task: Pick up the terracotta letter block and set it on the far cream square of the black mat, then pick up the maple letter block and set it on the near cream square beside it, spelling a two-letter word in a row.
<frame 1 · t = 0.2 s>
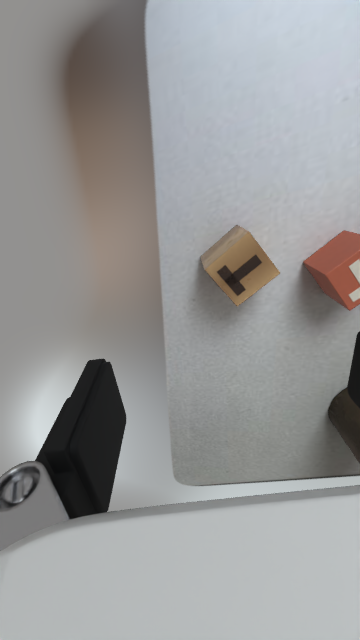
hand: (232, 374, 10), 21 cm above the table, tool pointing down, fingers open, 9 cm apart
maple block: (232, 258, 29), on the table
terracotta block: (333, 263, 30), on the table
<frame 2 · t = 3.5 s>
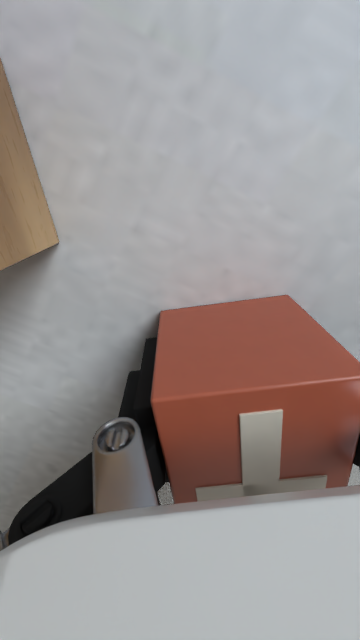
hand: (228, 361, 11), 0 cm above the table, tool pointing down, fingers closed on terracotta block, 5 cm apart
terracotta block: (226, 355, 12), on the table, touching gripper
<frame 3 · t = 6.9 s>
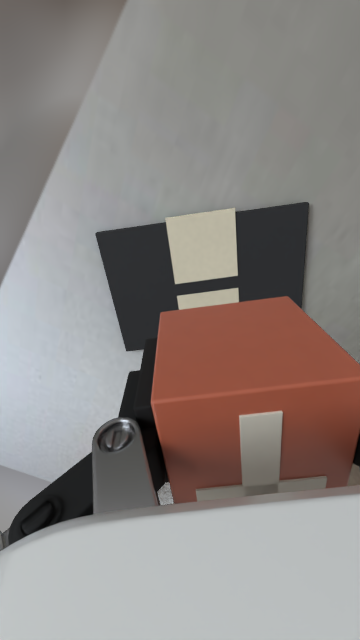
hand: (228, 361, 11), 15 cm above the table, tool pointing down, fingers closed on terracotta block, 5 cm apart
word mat: (206, 283, 26), on the table
terracotta block: (226, 356, 12), point 15 cm above the table, touching gripper
when the fingers open (1 cm above the table, at t = 10.6 s): terracotta block stays where it is, resting on word mat.
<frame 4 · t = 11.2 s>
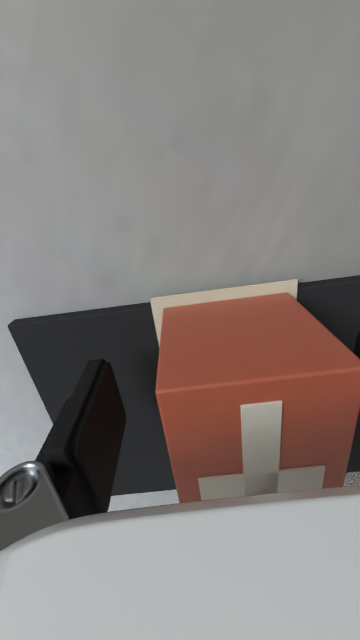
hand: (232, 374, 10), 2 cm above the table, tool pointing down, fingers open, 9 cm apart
word mat: (228, 400, 14), on the table
terracotta block: (228, 351, 12), point 1 cm above the table, touching word mat
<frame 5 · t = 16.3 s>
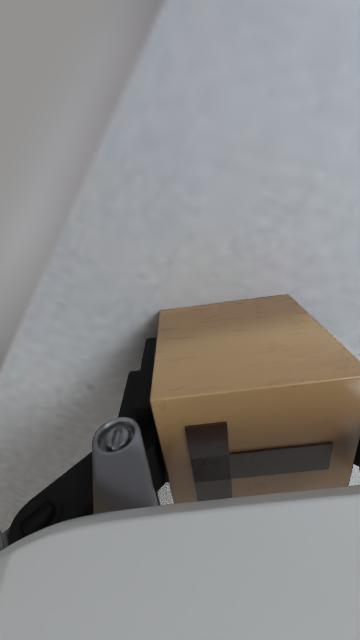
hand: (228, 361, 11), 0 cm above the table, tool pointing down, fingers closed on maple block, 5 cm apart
maple block: (226, 355, 12), on the table, touching gripper
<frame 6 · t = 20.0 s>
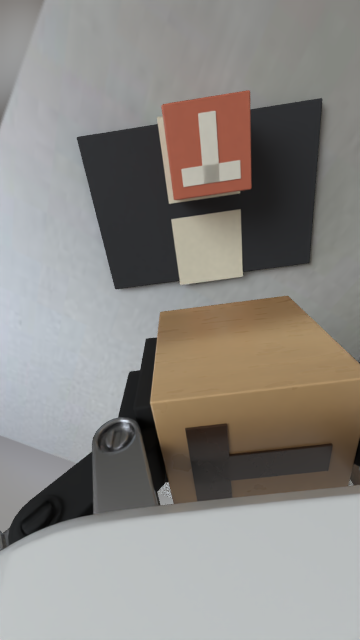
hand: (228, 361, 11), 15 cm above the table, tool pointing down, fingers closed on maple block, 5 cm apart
word mat: (204, 206, 23), on the table
maple block: (226, 356, 12), point 15 cm above the table, touching gripper
terracotta block: (201, 157, 21), point 1 cm above the table, touching word mat
when the fingers open (1 cm above the table, at t = 23.7 s): maple block stays where it is, resting on word mat.
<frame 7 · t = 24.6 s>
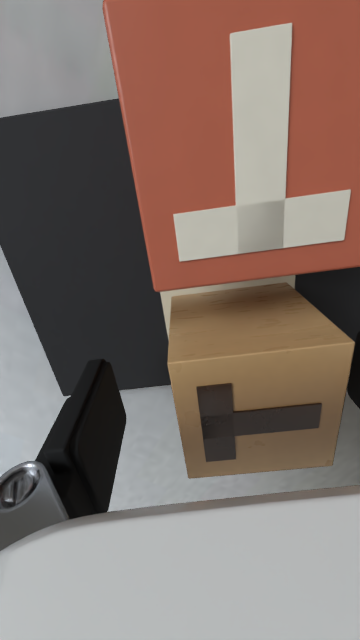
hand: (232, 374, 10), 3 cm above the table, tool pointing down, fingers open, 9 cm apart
word mat: (223, 261, 12), on the table
maple block: (231, 338, 13), point 1 cm above the table, touching word mat
terracotta block: (221, 170, 10), point 1 cm above the table, touching word mat
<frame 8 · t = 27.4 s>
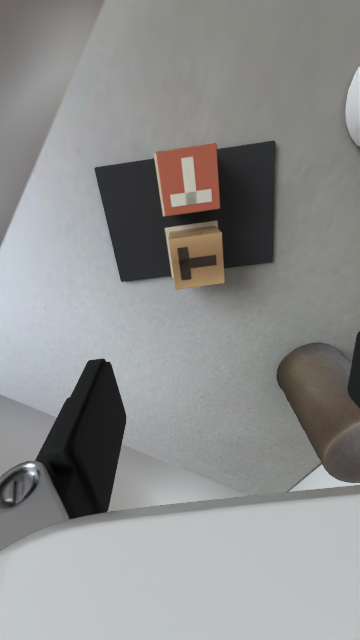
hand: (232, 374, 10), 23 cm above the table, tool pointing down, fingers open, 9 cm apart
word mat: (190, 217, 30), on the table
maple block: (194, 251, 31), point 1 cm above the table, touching word mat
terracotta block: (187, 182, 28), point 1 cm above the table, touching word mat
pillar candle: (309, 369, 39), on the table
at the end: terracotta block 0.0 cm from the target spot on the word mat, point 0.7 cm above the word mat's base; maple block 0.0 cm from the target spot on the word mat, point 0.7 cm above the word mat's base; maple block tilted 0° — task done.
